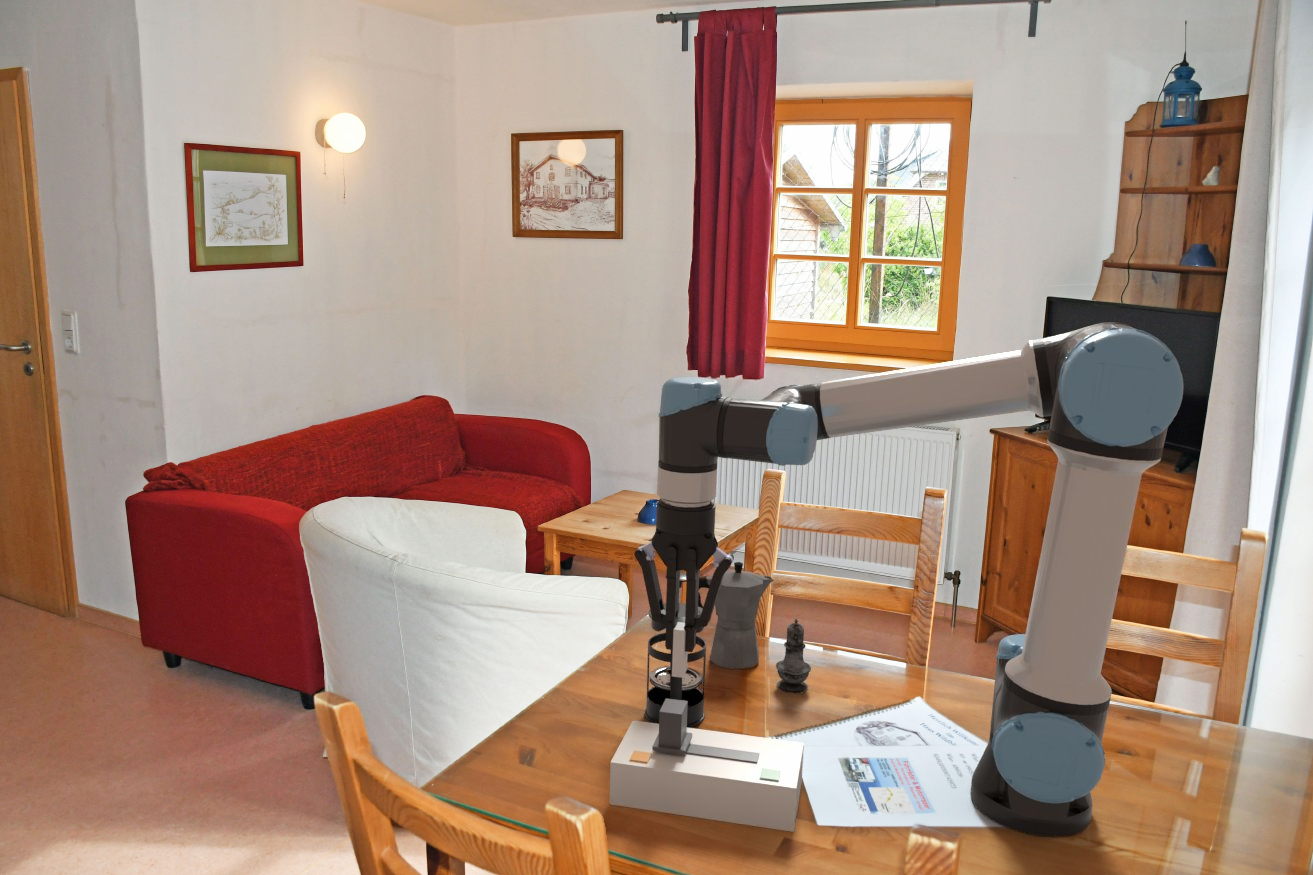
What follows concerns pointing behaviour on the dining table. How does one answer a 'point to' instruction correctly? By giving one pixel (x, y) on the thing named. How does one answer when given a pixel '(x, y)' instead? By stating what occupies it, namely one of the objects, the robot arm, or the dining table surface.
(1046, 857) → the dining table surface
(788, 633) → the salt shaker
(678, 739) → the grey slider handle
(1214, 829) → the dining table surface
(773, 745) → the slider switch box
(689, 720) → the french press
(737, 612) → the coffeepot
